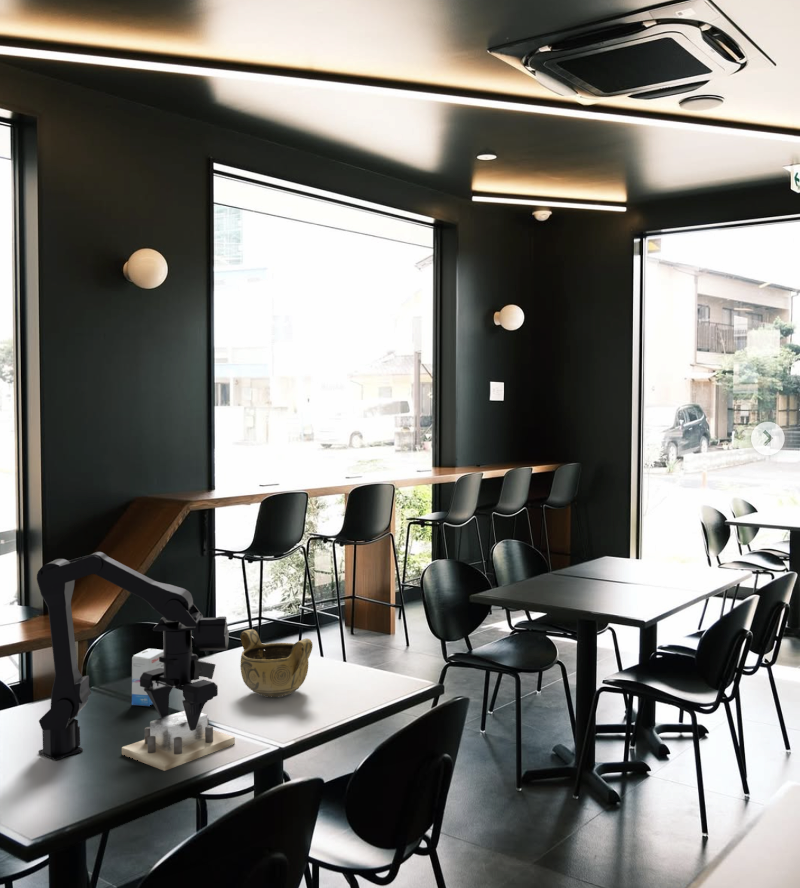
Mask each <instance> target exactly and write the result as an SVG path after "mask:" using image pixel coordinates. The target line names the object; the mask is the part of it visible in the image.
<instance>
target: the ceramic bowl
mask: <svg viewBox="0 0 800 888" xmlns="http://www.w3.org/2000/svg"><path fill="white" fill-rule="evenodd" d="M240 643H241V644H242V645H241V646H242V649H243V651H242V652H241V656H240V665H239V666H240V675H241V677H242V680H243V682H244V684H245V686H246V687H247V688H248V689H249V690H250V691H252V692H253V693H255V694H257V695H260V696H261V697H265V698H270V699H271V698H272V699H273V698H275V699H277V698H282V697H283V698H284V697H286V696H288V695H291V694H293V693H294V692H296V691H297V690H298V689H299V688H301V686H302V685H303V683H305V680H306V679H307V677H308V676H307V675H308V671H309V658H310V656H311V653H312V651H313V642H312V639H310V638H303V639H301V640H298V641H296V642H295V643H292V642H273V643H272V642H271V643H263V642H261V639H260V636H259V633H258V631H256V630H255V629H246V630H243V631H242V632H241V633H240ZM276 697H277V698H276Z"/></svg>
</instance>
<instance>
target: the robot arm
mask: <svg viewBox="0 0 800 888" xmlns="http://www.w3.org/2000/svg"><path fill="white" fill-rule="evenodd" d="M90 575H95V576H98V577H100V578H101V579H103V580H105V581H108V582H109V583H111V584H113V585H115V586H117V587H119V588H121V589H122V590H125V591H127V592H129V593H131V594H132V595H135V596H136V597H139V598H140V599H141V600H143V601H145V602H146V603H148V605H150V607H151V608H152V609H153V610H154V611H155V612H157V613H158V614H159V615H160V616H162V617H161V618H160V619H159V622H158V623H156V624H155V626H153V627H152V630H153V631H154V632H162V633H163V634H162V635H163V636H162V637H163V640H162V641H163V642H162V643H163V644H162V645H163V649H162V650H163V651H164V652H163V653H164V656H160V657H159V662H163V663H164V669H163V668H158V669H154V670H151V671H147V672H143V674H142V675H141V677H140V686H141V687H144V691H145V692H146V693H147V694H148V696H149V698H150V699H151V701H152V703H153V704H152V705H153V706H154V707H155V710H156V711H157V713H158V716H159V717H160V718H163V717H166V716H169V707H170V693H171V691H172V690H173V689H176V690H180V691H182V696H183V698H184V699H183V700H182V704H183V705H182V706H183V708H184V711H185V713H186V717H187V721H188V725H189V728H190V730H191V731H193V730H195V729H196V726H197V723H198V720H199V717H200V714H201V713H202V711H203V709H204V707H205V705H206V704H207V702H208V701H211V700H213V698H215V697H217V696H218V694H219V693H218V691H219V690H218V689H219V688H218V684H217V683H216V682H215V681H214V682H213V681H211V680H213V676H214V674H215V668H216V666H217V665H216V663H212V662H209V661H208V662H207V661H203V660H199V656H198V655H197V654H196V653H193V647H192V646H193V645H194V646H195V648H196V649H198V650H199V651H201V652H202V651H227V650H229V649H228V648H229V642H230V641H229V640H230V639H229V638H230V637H229V636H230V635H229V634H230V632H229V630H230V629H229V628H228V622H227V616H218V617H204V615H203V614H202V613H201V612H200V610H199V609H198V608H197V606H196V604H194V598H193V595H192V593H191V592H190V591H189V590H188V589H185V588H183V587H179V586H176V585H173V584H169V583H164V582H159V581H156V580H154V579H152V578H150V577H148V576H146V575H144V574H142V573H141V572H139V571H137V570H134V569H133V568H131V567H129V566H127V565H125V564H123V563H121V562H120V561H117V560H115V559H113V558H112V557H109V556H108V555H107V554H106V553H104V552H102V551H96V552H93V553H91V554H89V555H85V556H82V557H81V556H80V557H78V558H74V559H71V560H67V559H65V558H56V559H54V560H53V561H50V562H48V563H46V564H44V565H43V566H41V567H40V569H39V570H38V571H37V573H36V582H37V586H38V589H39V591H40V597H42V599H43V600H44V602H45V605H46V606H47V611H48V619H49V627H50V628H49V629H50V638H51V639H50V640H51V647H52V657H53V658H52V659H53V666H54V680H53V684H52V689H51V694H50V697H51V698H50V708H49V710H48V711H47V712H46V713H45V714H43V716H42V717H40V719H39V720H38V722H39V724H40V725H39V726H40V728H41V729H42V730H41V731H42V735H41V736H42V749H39V750H38V754H39V755H42V756H44V757H47V758H48V759H50V760H55V761H56V760H59V759H63V758H66V757H68V756H71V755H74V754H77V753H81V752H83V751H84V748H83V747H81V726H80V725H79V720H78V719H77V718H76V717H78V716H79V714H80V712H81V710H82V709H83V708H84V707H85V706H86V705H87V703H88V702H89V697H90V696H91V695H92V691H91V689H90V685H89V684H90V675H84V676H83V675H82V674H81V672H80V670H79V667H78V659H77V648H76V647H77V646H76V640H75V639H76V637H75V628H74V620H73V611H72V598H73V594H74V589H75V581H76V580H78V579H81V578H85V577H87V576H90ZM192 631H193V632H192ZM192 633H193V634H192ZM192 637H193V642H192ZM200 677H202V678H208V680H207V679H200ZM192 681H194V682H192ZM75 718H76V719H75ZM160 718H159V719H160Z"/></svg>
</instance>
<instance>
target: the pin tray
mask: <svg viewBox="0 0 800 888" xmlns="http://www.w3.org/2000/svg"><path fill="white" fill-rule="evenodd" d="M209 721H210V719H209V718H208V717H207V723H208V726H207V727H205V739H204V740H202V741H199V742H196V743H193V744H190V745H188V746H185V747H182V737H175V738H174V751H171V752H166V751H163V750H160V749H158V748H156V736H150V726H147V727H144V739H142V740H139V741H136V742H133V743H131V744H127V745H124V746H122V747H121V755H122V756H124V755H125V757H127V758H129V757H130V759H132V758H133V759H132V760H135V761H137V760H138V761H137V762H140V763H142V764H143V763H144V765H145V764H146V765H148V766H151V767H153V768H155V769H157V770H158V769H159V770H161V771H164V772H165V771H168V770H171V769H173V768H176V767H179V766H181V765H184V764H187V763H189V762H192V761H195V760H197V759H200V758H202V757H205V756H207V755H209V754H212V753H214V752H217V751H221V750H223V749H225V748H228V747H231V746H233V744H234V745H236V739H235V738H236V737H235V736H233V735H230V734H226V733H224V732H220V731H219V730H218V731H217V730H214V726H212V725H209V723H210V722H209ZM230 745H231V746H230Z"/></svg>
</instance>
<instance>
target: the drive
mask: <svg viewBox="0 0 800 888" xmlns="http://www.w3.org/2000/svg"><path fill="white" fill-rule="evenodd" d="M207 718H208V714H206V713H203V712H201V714H200V717H199V720H198V723H197V726H196V729H195V730H193V731H191V730H190V728H189V725H188V721H187V717H186V713H185V710H183V711H179V712H176V713H172V714H168V716H166V717H163V718H158V719H155V720H151V721H149V727H150V736H156V748H158V749H160V750H163V751H166V752H171V751H174V738H175V737H182V747H185V746H188V745H190V744H193V743H196V742H199V741H202V740H204V739H205V727H207V726H208V723H207Z"/></svg>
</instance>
